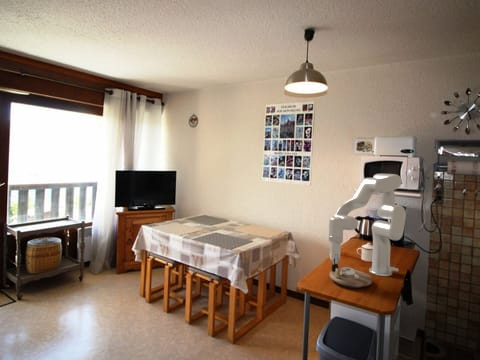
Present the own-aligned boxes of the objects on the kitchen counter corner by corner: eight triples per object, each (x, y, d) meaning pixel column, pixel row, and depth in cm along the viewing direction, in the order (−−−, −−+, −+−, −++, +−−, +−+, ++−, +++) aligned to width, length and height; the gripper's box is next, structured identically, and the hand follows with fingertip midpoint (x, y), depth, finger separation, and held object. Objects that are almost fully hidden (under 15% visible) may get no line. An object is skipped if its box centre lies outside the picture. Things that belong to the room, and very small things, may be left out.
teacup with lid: (376, 259, 202) (376, 242, 201) (374, 262, 194) (375, 245, 194) (357, 256, 208) (358, 240, 208) (355, 259, 201) (356, 242, 200)
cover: (348, 272, 166) (348, 266, 166) (357, 277, 160) (357, 270, 160) (338, 274, 164) (338, 267, 164) (347, 278, 157) (347, 272, 157)
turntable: (350, 268, 177) (350, 258, 176) (381, 282, 156) (381, 270, 156) (321, 274, 168) (321, 263, 167) (349, 289, 148) (350, 276, 147)
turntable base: (362, 278, 168) (363, 274, 168) (368, 289, 153) (368, 285, 153) (333, 275, 172) (334, 271, 172) (336, 286, 156) (336, 282, 156)
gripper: (327, 235, 171) (326, 266, 172) (329, 242, 156) (329, 275, 157) (341, 236, 169) (340, 267, 170) (344, 243, 154) (343, 277, 156)
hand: (334, 271), depth 164 cm, fingers closed
